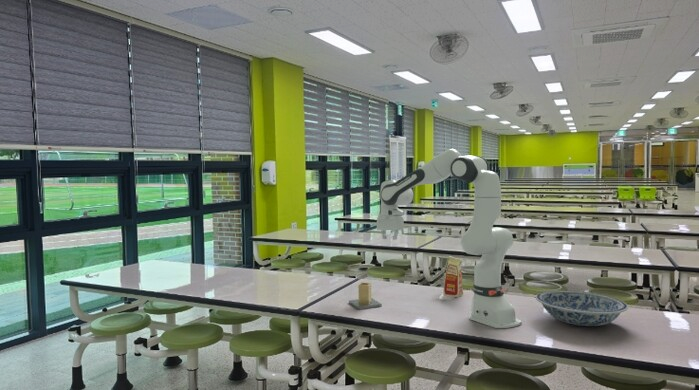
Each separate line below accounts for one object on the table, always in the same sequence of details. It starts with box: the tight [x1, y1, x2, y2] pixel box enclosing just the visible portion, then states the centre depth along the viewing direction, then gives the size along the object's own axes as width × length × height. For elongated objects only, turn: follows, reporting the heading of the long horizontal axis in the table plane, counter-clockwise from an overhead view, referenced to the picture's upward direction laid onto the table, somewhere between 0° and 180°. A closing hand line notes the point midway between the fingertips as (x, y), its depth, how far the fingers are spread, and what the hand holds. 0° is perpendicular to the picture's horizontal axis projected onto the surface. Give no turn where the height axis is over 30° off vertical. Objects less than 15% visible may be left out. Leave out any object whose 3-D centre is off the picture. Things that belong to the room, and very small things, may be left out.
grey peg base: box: [348, 297, 382, 311], centre depth 224 cm, size 12×12×6 cm
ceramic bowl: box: [535, 290, 629, 327], centre depth 192 cm, size 34×34×10 cm
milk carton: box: [442, 255, 464, 298], centre depth 238 cm, size 9×9×20 cm
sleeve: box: [357, 282, 372, 304], centre depth 224 cm, size 5×5×9 cm
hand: (389, 239), depth 234 cm, fingers open, 8 cm apart
